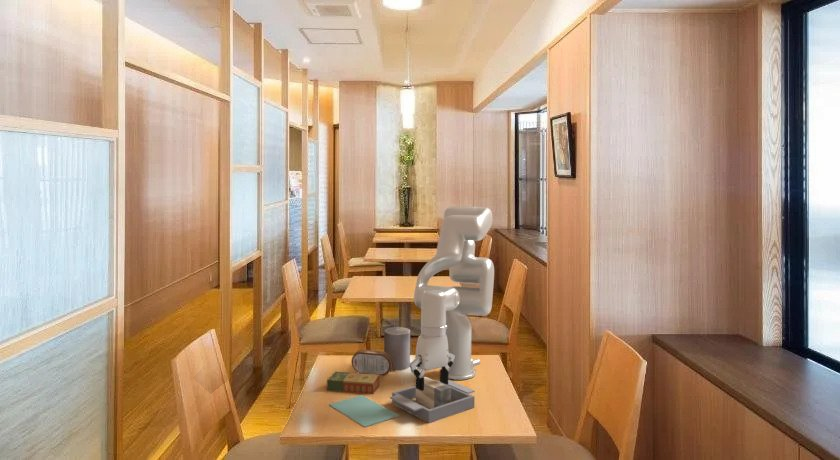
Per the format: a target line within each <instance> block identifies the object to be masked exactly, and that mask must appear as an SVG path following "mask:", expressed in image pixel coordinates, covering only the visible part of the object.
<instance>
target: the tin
mask: <svg viewBox="0 0 840 460" xmlns="http://www.w3.org/2000/svg"><path fill="white" fill-rule="evenodd" d="M351 366H352V368H353V370H354V371H355V373H365V374H379V375H380V377H382V376H383V377H384V376H386V375H387V374H389V373H390V372H391V371H392V370H391V369H392V367H393V360H392V358H391V356H390V355H389V354H387V353H386V352H384V351H382V350H381V351H379V350H371V349H359V350H357V351H356V352H355V353H354V354H353V356H352V357H351Z"/></svg>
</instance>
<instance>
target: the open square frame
mask: <svg viewBox="0 0 840 460" xmlns="http://www.w3.org/2000/svg"><path fill="white" fill-rule="evenodd" d="M433 380H434V381H437V382H439V383H441V384H443V385H446V386H448V387H450V388H451V400H453V401H451V402H450V403H447V404H444V405H441V406H438V407H435V408H432V409H431V408H429V407H427V406H425V405H423V404H420V403H418V402H416V401H414V399H416V385H413V386H410V387H407V388H403V389H399V390H396V391H393V392H391V396H390V397H389V399H390V400H391V404H392V405H394V406H396V407H398V408H399V409H401V410H404V411H405V412H408V413H410V414H411V415H413V416H414V417H417V418H419V419H420V420H423V421H424V422H426V423H428V424H431V423H434V422H436V421H440V420H441V419H445V418H448V417H451V416H453V415H456V414H459V413H462V412H465V411H468V410H471V409H473V408H475V396H474V395H472V394H473V393H475V390H474V389H472V388H469V387H467V386H464V385H463V384H461V383H457V382H455V381H454V380H453V381H452V379H448V384H444V383H442V382H440V380H437V379H433Z"/></svg>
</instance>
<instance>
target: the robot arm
mask: <svg viewBox="0 0 840 460" xmlns="http://www.w3.org/2000/svg"><path fill="white" fill-rule="evenodd" d="M493 218H494V217H493V212H492V210H491V209H490V208H489V207H487V206H464V205H462V206H460V205H458V206H457V205H455V206H450V207H448V208H446V209H445V210H444V213H443V220H442V223H441V227H440V231H439V236H438V241H437V247H436V252H435V253H436V254H435V255H434V256H433V257H432V258H431V259H429V260H428V261H427V262H426V263H425V264H424V266H423V267H422V268H421V270H420V271H419V273H418V274H417V279H416V283H415V288H414V291H413V294H414V295H413V301H414V304H415V306H416V307H417V308H419V309H420V311H421V312H420V335H419V336H418V337H417V342H416V347H415V358H414V359H413V360H412V361H410V364H409V366H410V367H409V368H410V371H411V374H413V375H414V376H415V386H416V388H417V389H419V390H421V391H423V390H424V377H425V373H426V372H427V371H431V370H436V369H439V368H440V370H439V381H440V382H442V383H444V384H448V380H453V381H454V380H456V381H457V380H459V381H461V380H462V381H463V380H469V379H471V378H474V376H476V370H475V369H474V367H475V366H479V365H480V364H481V360H480V359H475V360H473V358H472V324H471V322H470V320H469V318H468V317H467V315H469V316H479V317H480V316H483V317H484V316H489V314H490V313H491V310H492V306H493V298H494V297H493V295H494V283H495V281H494V280H495V266H494V262H493V261H492V259H490V258H488V257H484V256H483V257H479V256H478V257H477V256H475V252H476V243H475V242H478V241H482V240H483V239H484V238H485V236H486V235H487V233H488V232H489V231H490V229H491V227H492V225H493V220H494V219H493ZM447 269H449V270H448V271H449V279H450V280H451V281H452V282H454V283H459V284H469V285H470V284H473V285H478V286H479V287H471V286H470V287H469V286H459V285H458V286H441V285H429V284H428V283H429V281H430V280H431V279H432V277H433V276H435V275H436V274H437V273H439V272H442V271H445V270H447Z"/></svg>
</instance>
